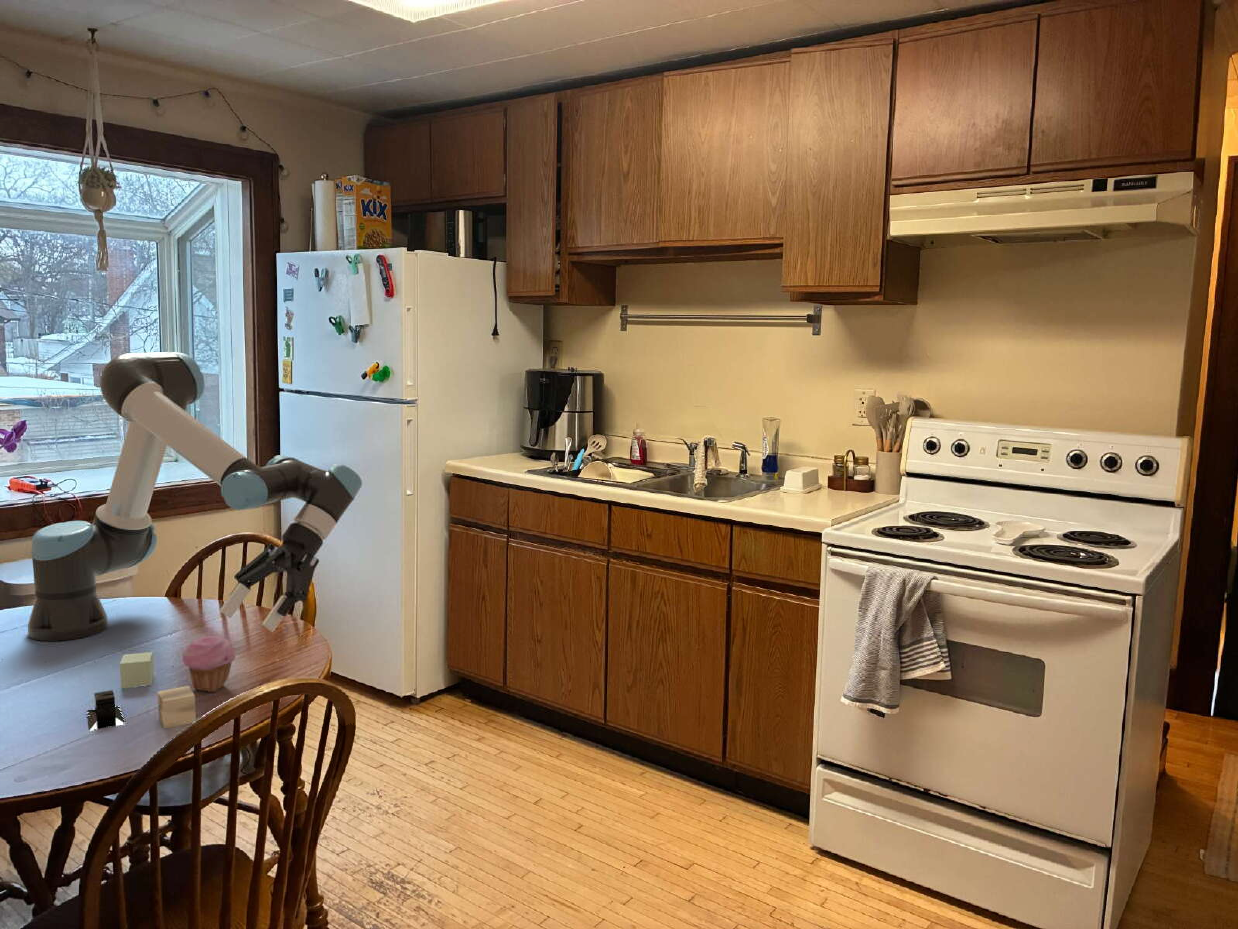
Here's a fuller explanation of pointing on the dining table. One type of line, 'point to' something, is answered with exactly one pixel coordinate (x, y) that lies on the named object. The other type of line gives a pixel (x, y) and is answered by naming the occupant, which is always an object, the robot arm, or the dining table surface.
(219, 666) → the cupcake
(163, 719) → the birch block
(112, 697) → the black piece
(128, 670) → the sage block
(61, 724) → the dining table surface
